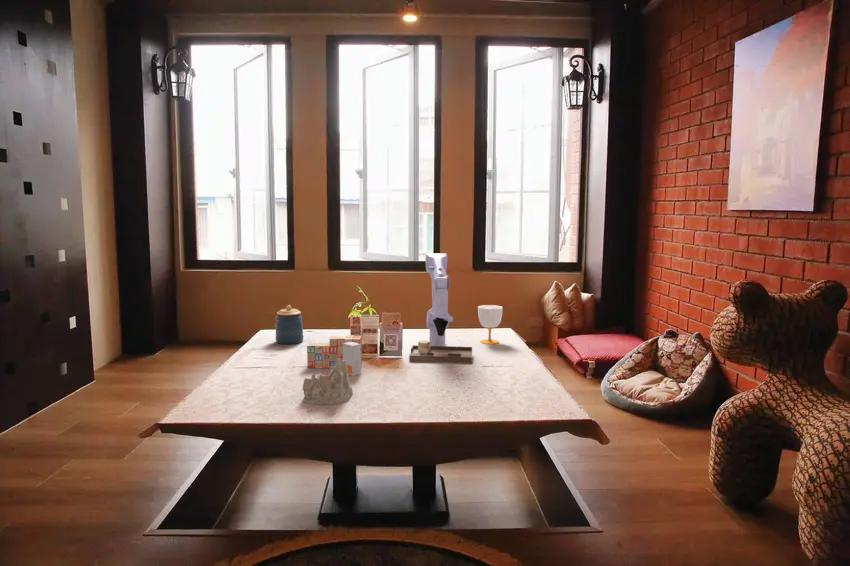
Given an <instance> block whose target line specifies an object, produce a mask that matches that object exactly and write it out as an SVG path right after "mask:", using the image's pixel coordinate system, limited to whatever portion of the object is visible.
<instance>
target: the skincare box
mask: <svg viewBox="0 0 850 566" xmlns="http://www.w3.org/2000/svg"><path fill="white" fill-rule="evenodd" d="M343 360H346V365H347V368H348V371H347V374H348V376H349V375H350V376H353V377H354V376H358V375H361V374H362V365H361V344H358V343H354V342H347V343H343Z"/></svg>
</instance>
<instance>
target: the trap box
mask: <svg viewBox="0 0 850 566" xmlns="http://www.w3.org/2000/svg"><path fill="white" fill-rule="evenodd" d="M408 357H409V359H408V361H409V362H418V363H419V362H420V363H421V362H422V363H424V362H425V363H454V364H455V363H456V364H457V363H458V364H472V360H473V346H454V345H453V346H448V345H447V346H431V351H428V352H419V351H418V344H417V345H414V344H413V345H411V348H410V353H409V356H408Z"/></svg>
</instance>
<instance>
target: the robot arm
mask: <svg viewBox="0 0 850 566" xmlns="http://www.w3.org/2000/svg"><path fill="white" fill-rule="evenodd" d="M447 265H448V254H447V253H446V252H444V253H442V252H441V253H438V252H436V253H434V252H433V253H431V252H430V253H429V252H427V253H426V254H425V270H426V273H428V274H429V276H430V278H431V300H432V301H431V304H432V307H431V308H430V309H429V310H427V312H426V328H427V329H429V341H431V346H448V345H447V344H446V330H447V329H448V328H449V326H450V325H449V324H450V323H451V322H453V321H454V317H453V316H451V315H450V313H449V312H448V311H449V310H448V308H449V306H448V305H449V291H448V290H449V289H450V277H449V275H448V274H447Z"/></svg>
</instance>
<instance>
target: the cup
mask: <svg viewBox="0 0 850 566" xmlns="http://www.w3.org/2000/svg"><path fill="white" fill-rule="evenodd" d="M503 311H504V310H503V306H501V305H495V304H482V305H478V306H477V315H478V322H479V323H480V325H481V326H482V327H483V328H486V329H488V337H487V339H482V340H480V341H479V342H480V343H481V344H484V345H497V344H499V343H500V341H499V340H497V339H492V334H491V333H492V329H495V328H498V326H499V325H500V324H501V321H502V317H503Z"/></svg>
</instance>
